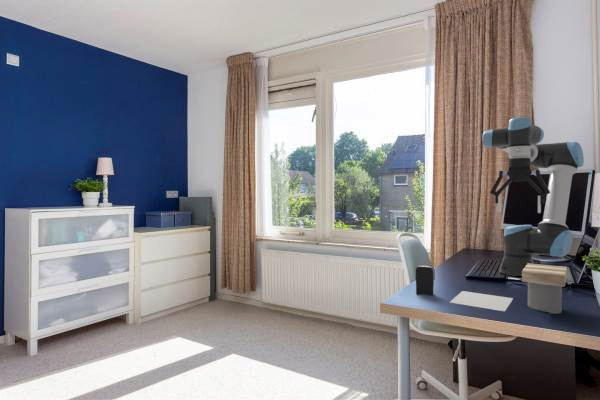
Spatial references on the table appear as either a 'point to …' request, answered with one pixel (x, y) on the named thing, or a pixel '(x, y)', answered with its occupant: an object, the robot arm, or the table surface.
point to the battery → (425, 280)
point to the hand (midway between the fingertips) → (519, 212)
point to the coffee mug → (545, 297)
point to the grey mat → (482, 300)
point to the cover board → (544, 274)
